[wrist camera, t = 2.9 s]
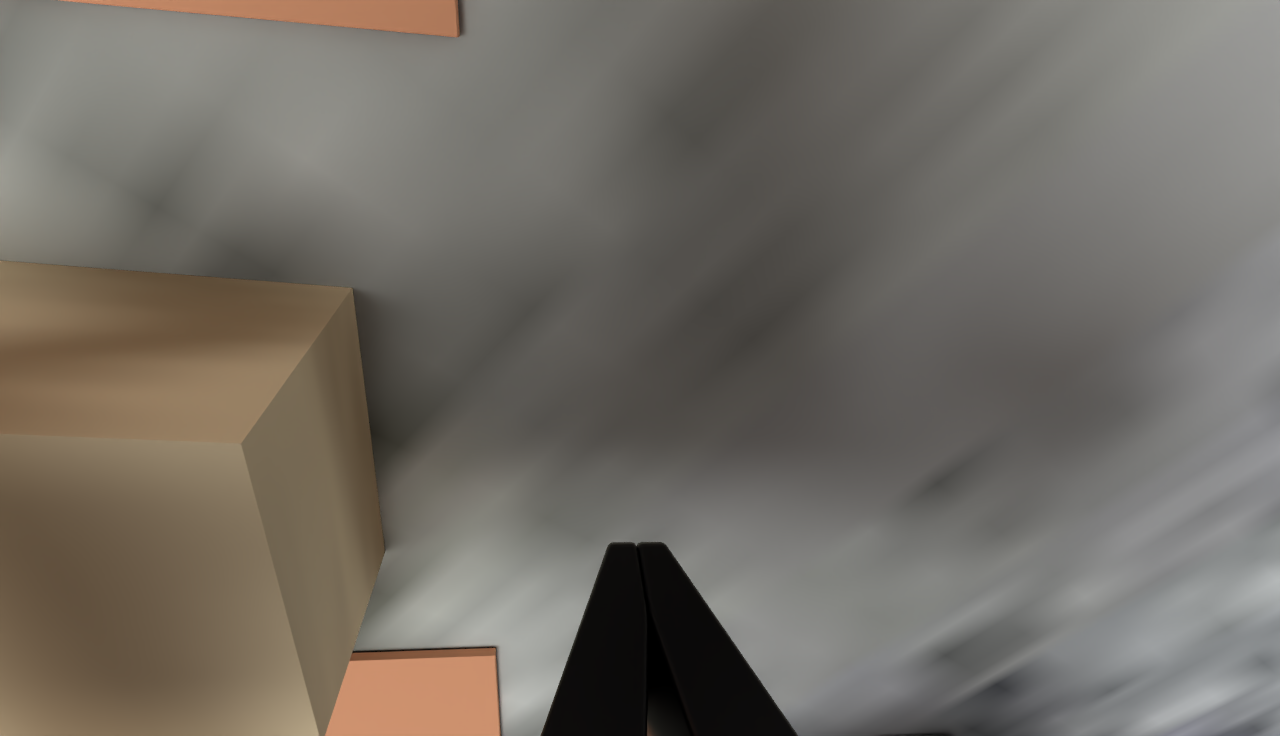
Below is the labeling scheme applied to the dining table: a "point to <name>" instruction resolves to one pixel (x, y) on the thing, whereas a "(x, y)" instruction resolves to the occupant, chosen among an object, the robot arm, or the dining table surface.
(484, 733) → the mats
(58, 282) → the block
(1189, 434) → the dining table surface
